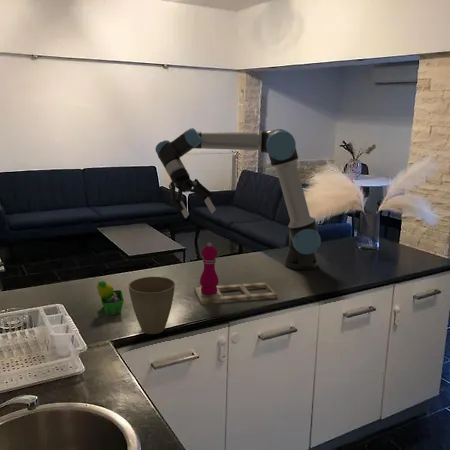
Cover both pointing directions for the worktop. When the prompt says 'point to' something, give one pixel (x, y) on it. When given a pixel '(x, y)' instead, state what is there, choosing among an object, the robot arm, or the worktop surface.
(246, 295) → the board
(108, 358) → the worktop surface
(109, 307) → the fruit basket
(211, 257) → the pepper mill
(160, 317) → the plant pot
